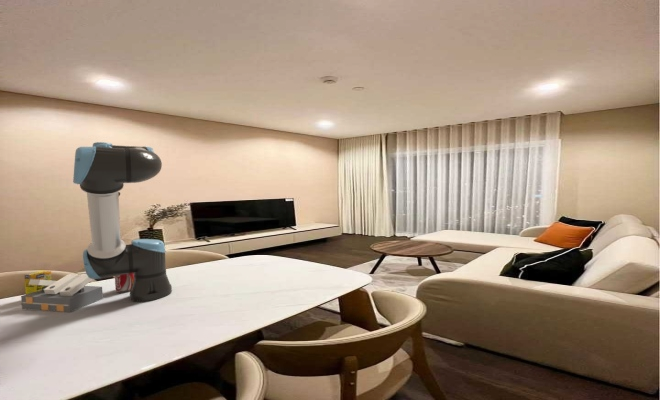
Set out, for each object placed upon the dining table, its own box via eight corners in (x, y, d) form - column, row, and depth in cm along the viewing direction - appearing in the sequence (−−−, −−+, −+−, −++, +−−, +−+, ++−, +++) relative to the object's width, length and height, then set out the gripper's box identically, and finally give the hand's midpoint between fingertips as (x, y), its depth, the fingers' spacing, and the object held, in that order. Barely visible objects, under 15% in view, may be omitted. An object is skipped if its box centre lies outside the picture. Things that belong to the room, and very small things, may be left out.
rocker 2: (80, 278, 122) (78, 273, 121) (55, 294, 113) (53, 289, 112) (70, 277, 123) (68, 273, 122) (45, 293, 114) (43, 289, 113)
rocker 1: (64, 286, 123) (66, 281, 123) (38, 285, 113) (40, 279, 114) (55, 286, 123) (57, 280, 124) (28, 284, 114) (30, 278, 115)
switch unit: (102, 298, 122) (101, 283, 122) (69, 312, 109) (68, 295, 109) (58, 296, 126) (57, 281, 126) (21, 309, 113) (20, 292, 113)
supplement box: (37, 302, 120) (35, 275, 120) (25, 301, 121) (23, 274, 121) (53, 296, 126) (51, 271, 125) (42, 295, 127) (40, 270, 127)
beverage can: (111, 292, 130) (109, 264, 129) (129, 286, 137) (127, 260, 137) (124, 294, 127) (122, 266, 127) (141, 287, 135) (140, 261, 134)
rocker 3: (94, 277, 121) (92, 273, 120) (71, 296, 112) (69, 291, 111) (84, 277, 121) (82, 273, 120) (61, 295, 113) (58, 291, 112)
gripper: (110, 177, 143) (114, 226, 144) (83, 177, 130) (87, 231, 131) (124, 177, 141) (127, 226, 143) (98, 176, 129) (102, 231, 130)
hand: (108, 228), depth 137 cm, fingers closed
